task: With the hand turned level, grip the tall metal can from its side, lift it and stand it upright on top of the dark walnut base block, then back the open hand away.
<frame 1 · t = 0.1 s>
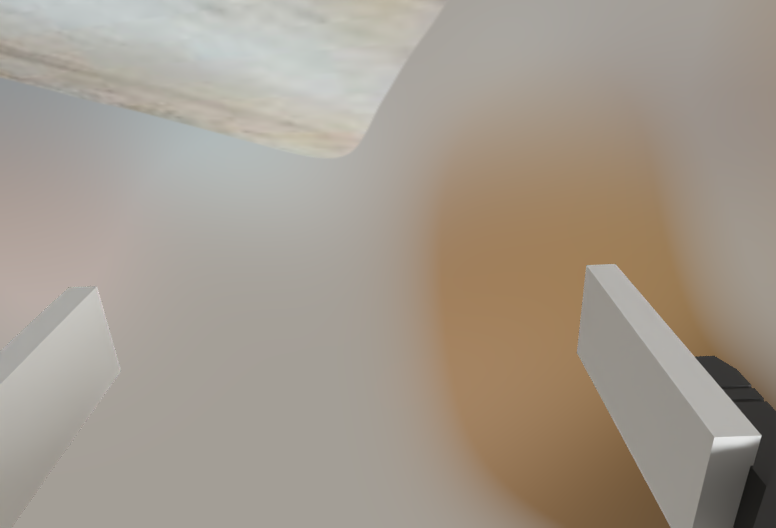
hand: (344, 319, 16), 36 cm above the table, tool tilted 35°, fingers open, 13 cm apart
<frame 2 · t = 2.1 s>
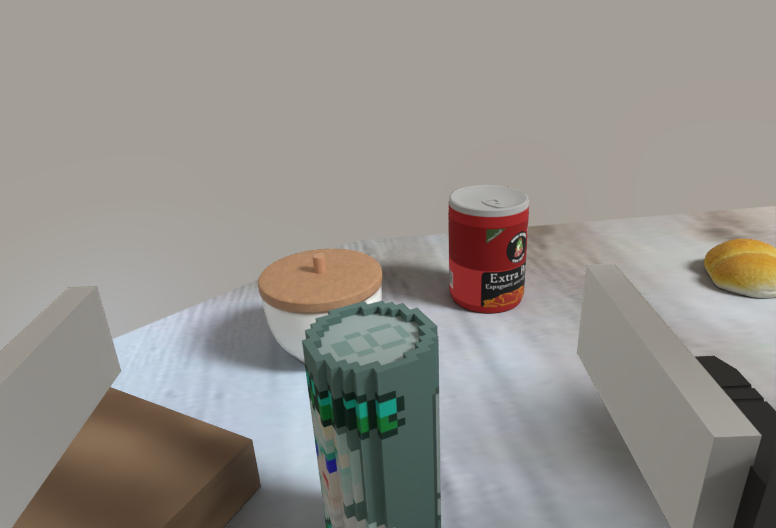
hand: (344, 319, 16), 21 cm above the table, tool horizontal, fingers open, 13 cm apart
canned food: (486, 297, 62), on the table
bread roll: (745, 282, 62), on the table
lidded jar: (328, 349, 54), on the table
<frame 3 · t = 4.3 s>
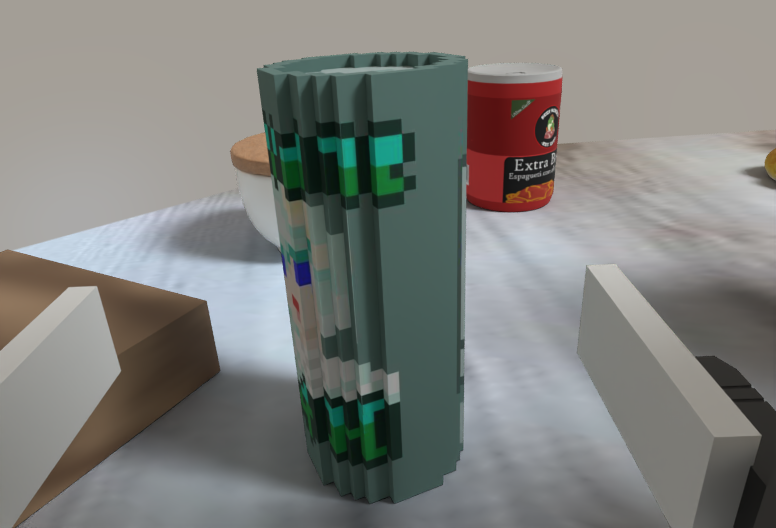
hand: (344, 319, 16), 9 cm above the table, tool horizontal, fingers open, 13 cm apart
canned food: (507, 200, 52), on the table
can: (385, 446, 24), on the table
lidded jar: (318, 245, 44), on the table
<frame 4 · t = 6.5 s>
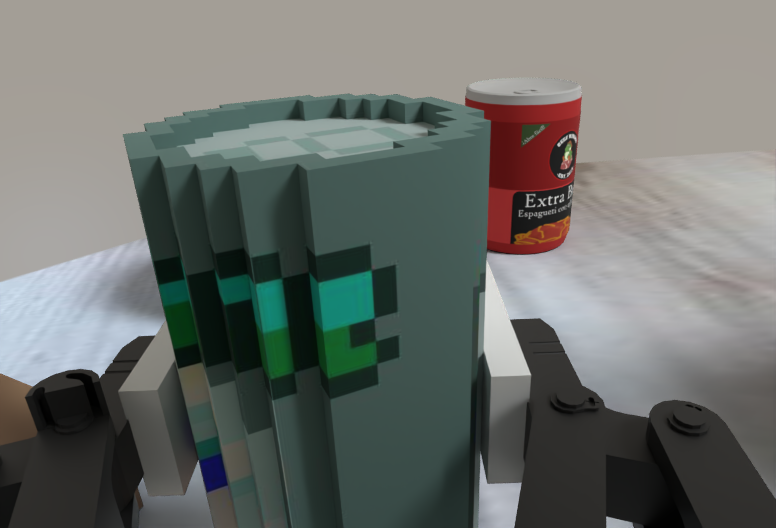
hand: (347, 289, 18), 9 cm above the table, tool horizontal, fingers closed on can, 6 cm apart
canned food: (514, 237, 44), on the table
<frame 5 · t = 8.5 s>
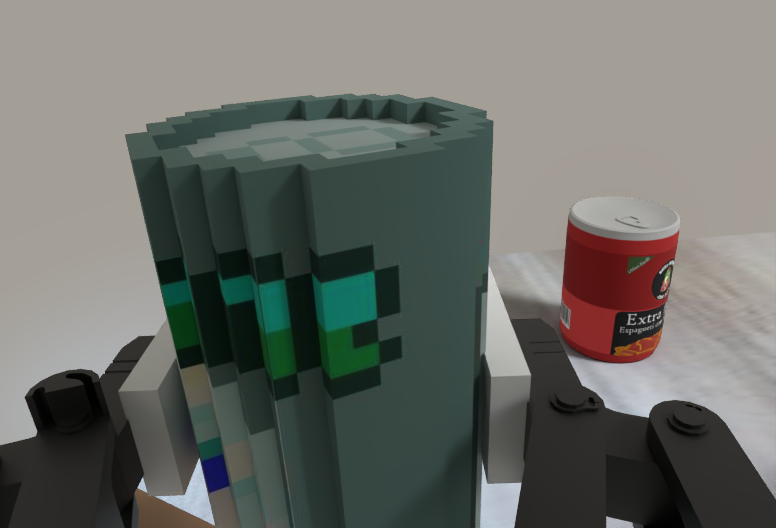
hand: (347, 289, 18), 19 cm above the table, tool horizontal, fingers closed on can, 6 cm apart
canned food: (607, 339, 48), on the table
when the fingers open (14 cm above the table, at t = 10.3 s): can drops 1 cm, resting on walnut base.
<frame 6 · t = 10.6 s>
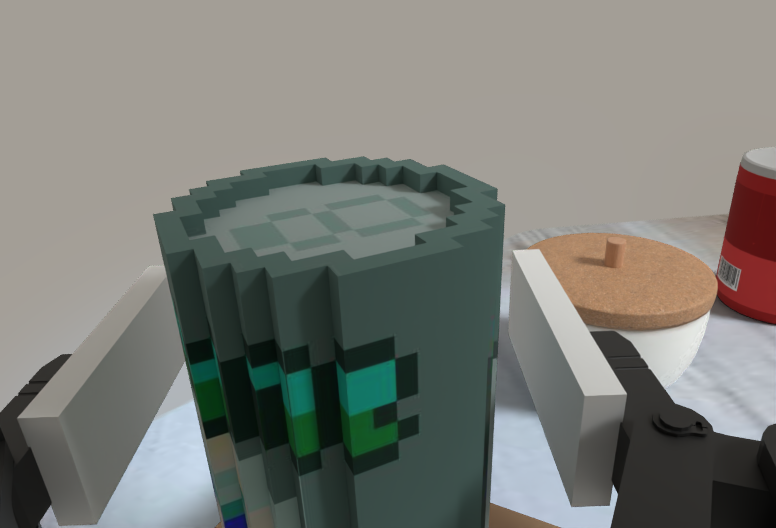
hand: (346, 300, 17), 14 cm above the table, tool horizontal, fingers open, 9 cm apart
canned food: (770, 304, 44), on the table
lidded jar: (598, 380, 37), on the table
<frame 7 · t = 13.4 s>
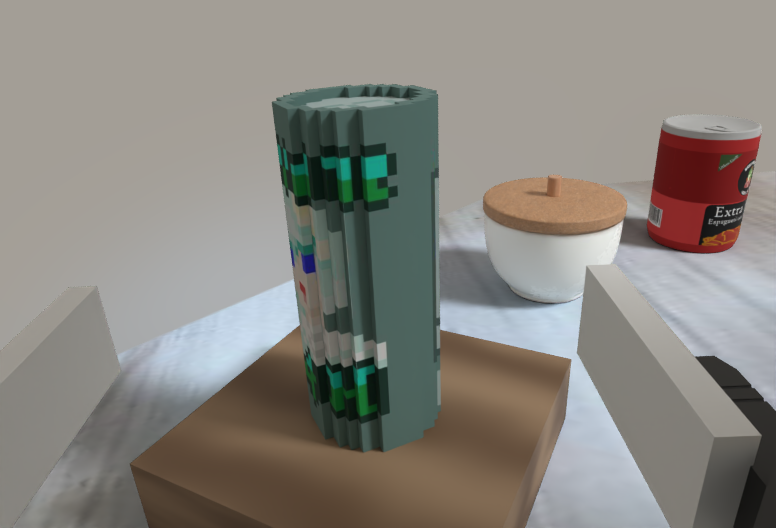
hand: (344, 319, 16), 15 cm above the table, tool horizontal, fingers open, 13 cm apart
canned food: (689, 240, 56), on the table
can: (376, 410, 29), point 4 cm above the table, touching walnut base
lidded jar: (546, 288, 49), on the table
walnut base: (376, 467, 31), on the table
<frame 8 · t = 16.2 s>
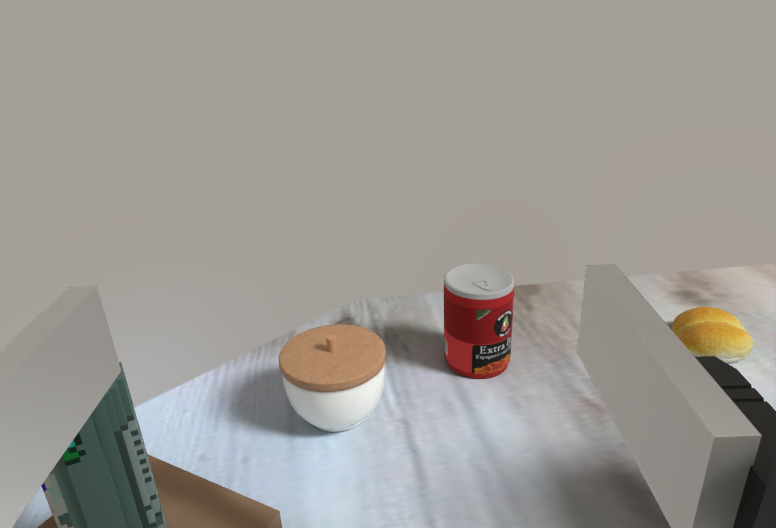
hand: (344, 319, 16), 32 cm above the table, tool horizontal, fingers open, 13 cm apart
canned food: (476, 362, 70), on the table
bread roll: (708, 346, 71), on the table
lidded jar: (338, 414, 62), on the table
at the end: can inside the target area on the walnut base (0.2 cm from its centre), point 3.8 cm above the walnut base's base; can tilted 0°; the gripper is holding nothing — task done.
